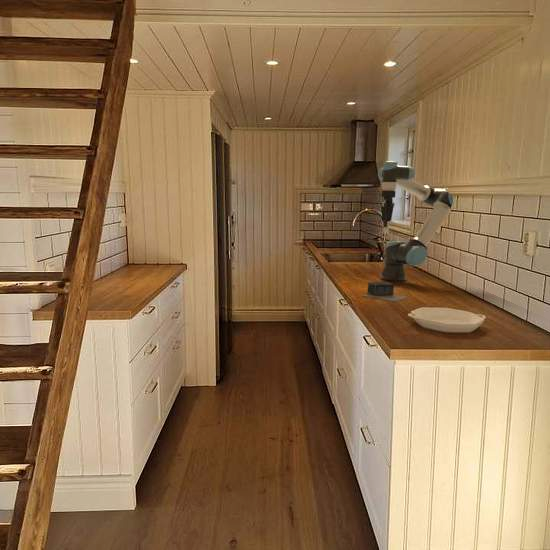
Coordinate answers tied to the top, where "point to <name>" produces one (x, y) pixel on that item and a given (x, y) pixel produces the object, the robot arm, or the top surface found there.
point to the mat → (386, 297)
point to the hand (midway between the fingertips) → (385, 233)
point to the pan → (447, 319)
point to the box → (380, 288)
